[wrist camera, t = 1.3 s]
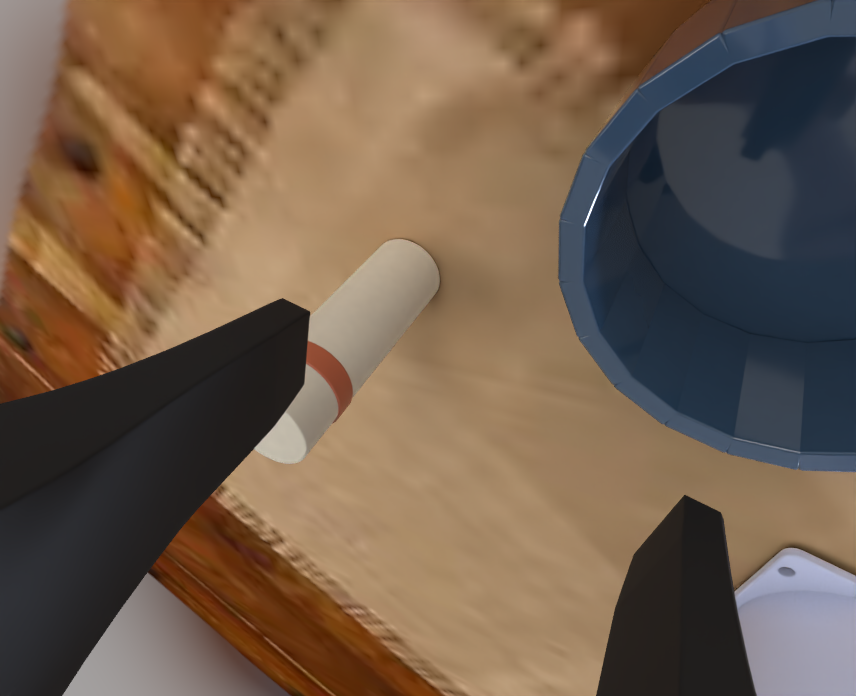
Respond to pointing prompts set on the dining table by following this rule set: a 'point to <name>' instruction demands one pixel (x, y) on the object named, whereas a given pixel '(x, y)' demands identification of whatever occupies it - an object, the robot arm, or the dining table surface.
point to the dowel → (352, 342)
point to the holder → (729, 234)
